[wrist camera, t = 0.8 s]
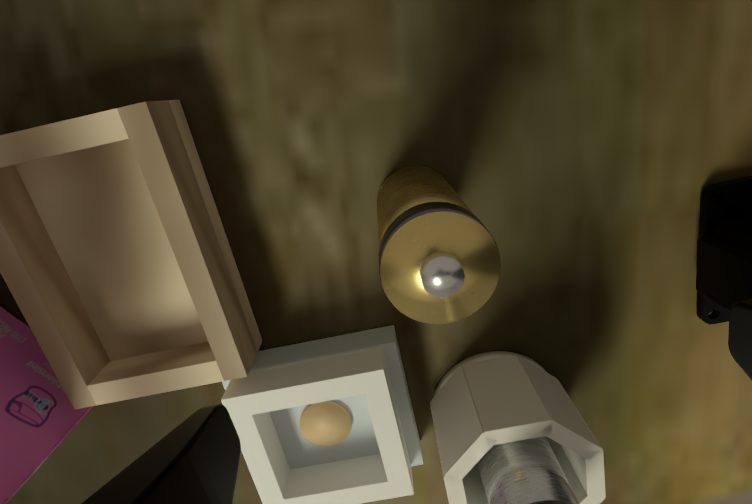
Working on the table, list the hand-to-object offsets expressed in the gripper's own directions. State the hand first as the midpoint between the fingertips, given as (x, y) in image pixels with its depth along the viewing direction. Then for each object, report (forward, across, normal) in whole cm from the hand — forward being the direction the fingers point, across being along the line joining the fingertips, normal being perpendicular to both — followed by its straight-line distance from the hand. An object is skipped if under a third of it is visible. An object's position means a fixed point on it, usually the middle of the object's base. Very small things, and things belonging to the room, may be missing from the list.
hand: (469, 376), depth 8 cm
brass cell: (+12, 0, 0) cm, 12 cm away
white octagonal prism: (+12, -2, +11) cm, 16 cm away
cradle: (+12, +6, +9) cm, 16 cm away
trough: (+12, +12, -1) cm, 17 cm away
